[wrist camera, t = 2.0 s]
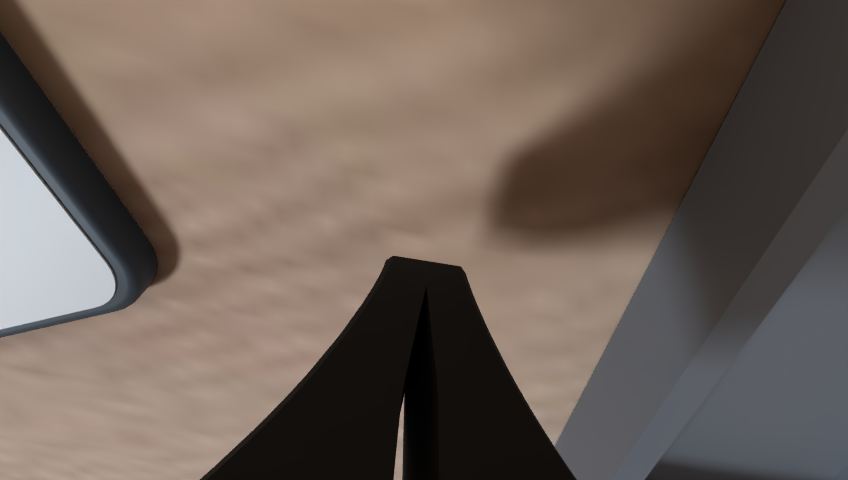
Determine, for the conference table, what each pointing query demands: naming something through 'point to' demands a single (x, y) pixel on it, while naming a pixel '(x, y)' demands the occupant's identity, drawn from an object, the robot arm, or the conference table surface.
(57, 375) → the conference table surface
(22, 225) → the smartphone
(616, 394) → the shell tray
